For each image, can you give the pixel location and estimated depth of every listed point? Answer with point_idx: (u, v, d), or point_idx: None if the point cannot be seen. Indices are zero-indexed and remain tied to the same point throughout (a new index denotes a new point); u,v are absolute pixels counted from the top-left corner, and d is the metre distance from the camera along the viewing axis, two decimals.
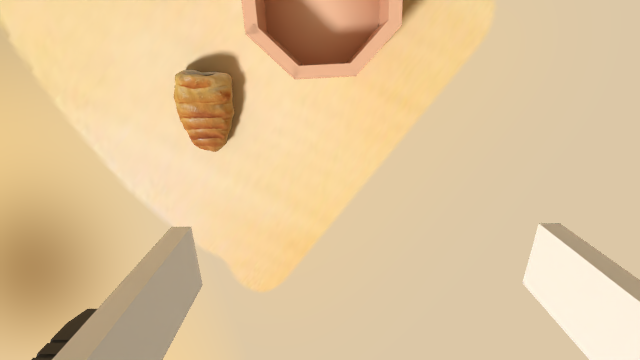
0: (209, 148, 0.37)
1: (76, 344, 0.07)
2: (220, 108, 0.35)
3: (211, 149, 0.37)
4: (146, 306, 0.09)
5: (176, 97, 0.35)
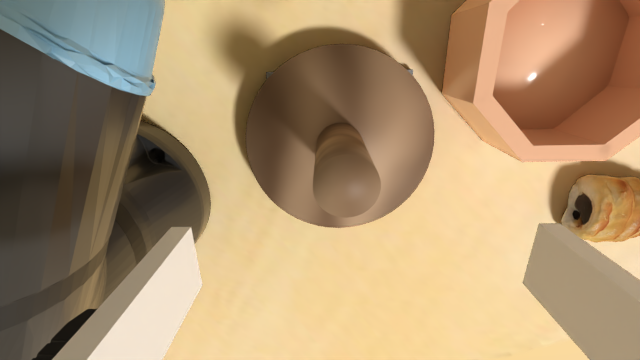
0: None
1: (76, 344, 0.07)
2: None
3: None
4: (146, 306, 0.09)
5: (604, 240, 0.29)
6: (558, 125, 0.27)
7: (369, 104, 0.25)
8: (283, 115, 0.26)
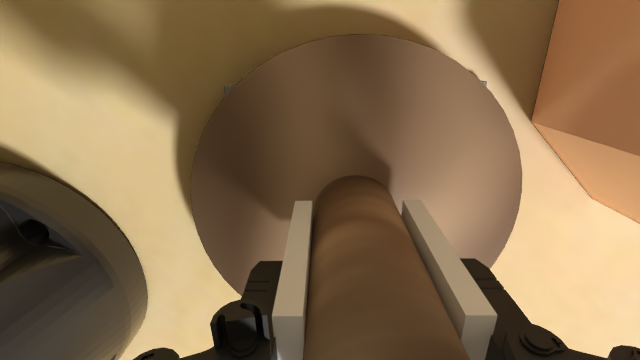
0: None
1: (288, 278, 0.09)
2: None
3: None
4: (309, 258, 0.11)
5: None
6: None
7: (409, 144, 0.14)
8: (255, 162, 0.14)
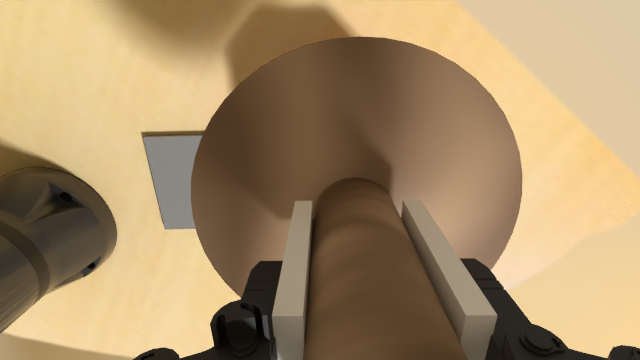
0: None
1: (288, 278, 0.09)
2: None
3: None
4: (309, 258, 0.11)
5: None
6: None
7: (409, 146, 0.14)
8: (255, 165, 0.14)
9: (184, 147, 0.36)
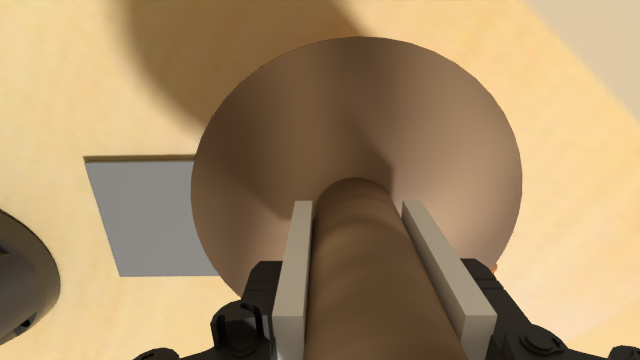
0: None
1: (288, 278, 0.09)
2: None
3: (494, 271, 0.29)
4: (309, 258, 0.11)
5: None
6: None
7: (409, 146, 0.14)
8: (255, 165, 0.14)
9: (139, 177, 0.27)
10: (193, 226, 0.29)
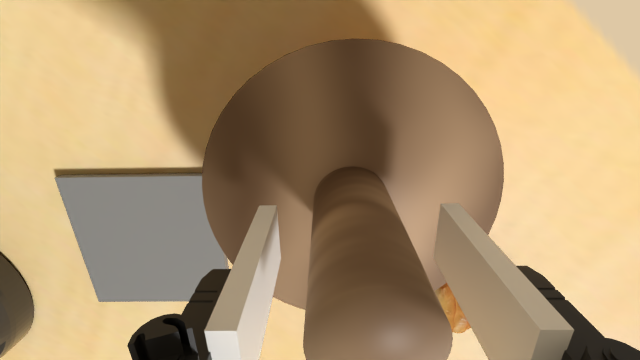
0: None
1: (231, 289, 0.08)
2: None
3: None
4: (263, 266, 0.10)
5: None
6: None
7: (400, 138, 0.15)
8: (260, 155, 0.16)
9: (117, 193, 0.24)
10: (179, 247, 0.26)
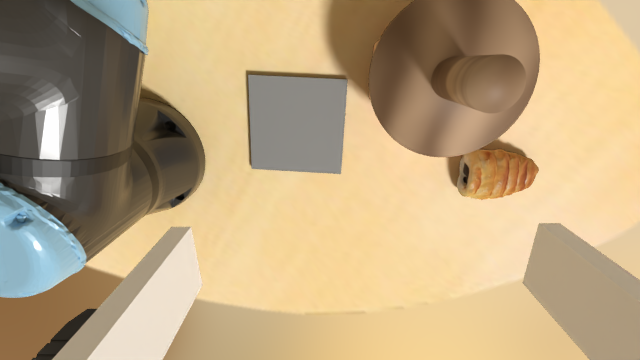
0: (534, 174, 0.39)
1: (76, 344, 0.07)
2: (501, 160, 0.37)
3: (536, 172, 0.39)
4: (146, 306, 0.09)
5: (484, 197, 0.39)
6: None
7: (485, 40, 0.29)
8: (408, 46, 0.30)
9: (284, 88, 0.38)
10: (315, 130, 0.40)
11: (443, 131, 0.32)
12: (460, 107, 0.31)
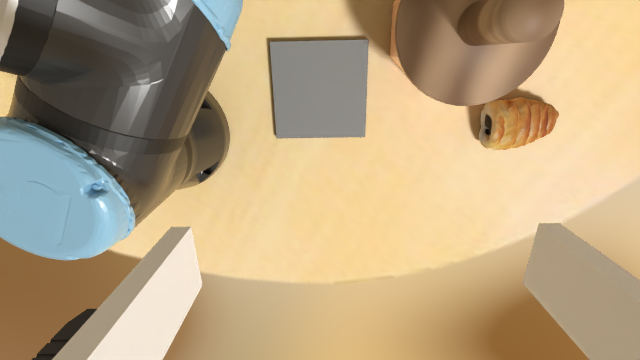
0: (555, 119, 0.40)
1: (76, 344, 0.07)
2: (523, 107, 0.38)
3: (556, 117, 0.40)
4: (146, 306, 0.09)
5: (508, 146, 0.40)
6: None
7: None
8: None
9: (306, 52, 0.38)
10: (338, 94, 0.40)
11: (470, 79, 0.33)
12: (487, 53, 0.32)
